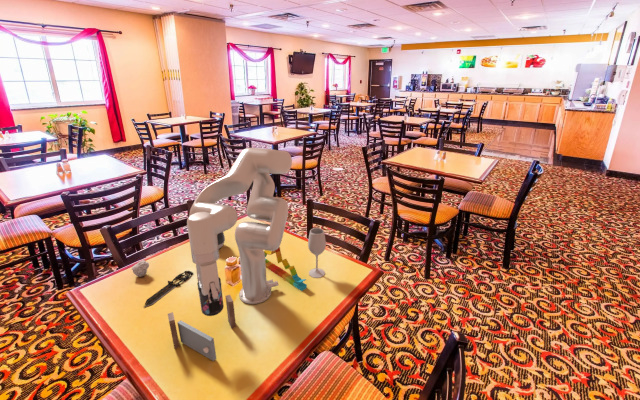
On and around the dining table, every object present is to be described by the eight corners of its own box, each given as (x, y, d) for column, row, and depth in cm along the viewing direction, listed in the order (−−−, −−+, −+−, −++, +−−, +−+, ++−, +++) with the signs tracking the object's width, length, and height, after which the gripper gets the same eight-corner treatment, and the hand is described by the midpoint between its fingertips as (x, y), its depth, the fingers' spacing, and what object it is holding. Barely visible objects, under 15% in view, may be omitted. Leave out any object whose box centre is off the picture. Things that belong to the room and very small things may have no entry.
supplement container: (197, 316, 98) (193, 287, 94) (206, 302, 104) (202, 274, 100) (219, 317, 97) (215, 289, 94) (227, 303, 104) (223, 275, 100)
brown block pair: (232, 319, 116) (229, 294, 112) (235, 326, 113) (233, 300, 109) (172, 340, 106) (167, 313, 103) (174, 348, 103) (169, 321, 99)
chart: (307, 288, 134) (306, 257, 129) (301, 291, 132) (300, 259, 126) (264, 260, 154) (262, 232, 149) (258, 263, 152) (256, 234, 147)
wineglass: (305, 275, 142) (305, 233, 134) (312, 267, 148) (312, 226, 141) (321, 279, 139) (321, 236, 132) (327, 270, 146) (328, 228, 138)
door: (178, 344, 104) (174, 324, 102) (184, 339, 106) (180, 320, 103) (210, 363, 97) (207, 343, 95) (216, 358, 99) (213, 338, 96)
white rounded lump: (150, 277, 140) (147, 264, 137) (132, 281, 137) (128, 266, 135) (151, 270, 145) (149, 257, 143) (134, 273, 143) (131, 259, 140)
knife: (146, 310, 121) (145, 307, 120) (134, 305, 124) (134, 302, 123) (196, 275, 142) (196, 272, 142) (186, 271, 145) (185, 269, 144)
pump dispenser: (222, 252, 160) (219, 224, 155) (202, 252, 160) (198, 224, 155) (228, 242, 170) (225, 216, 165) (208, 242, 170) (205, 216, 165)
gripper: (187, 244, 99) (194, 292, 105) (197, 272, 85) (205, 325, 91) (212, 239, 103) (217, 286, 109) (226, 264, 88) (231, 316, 95)
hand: (212, 303), depth 100 cm, fingers closed on supplement container, 6 cm apart
